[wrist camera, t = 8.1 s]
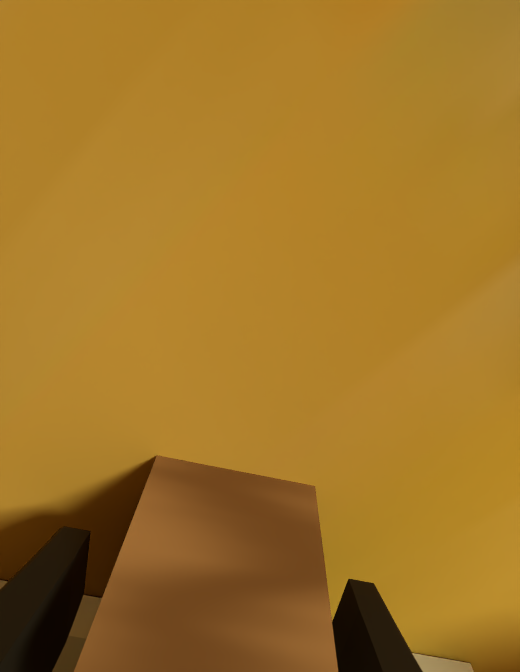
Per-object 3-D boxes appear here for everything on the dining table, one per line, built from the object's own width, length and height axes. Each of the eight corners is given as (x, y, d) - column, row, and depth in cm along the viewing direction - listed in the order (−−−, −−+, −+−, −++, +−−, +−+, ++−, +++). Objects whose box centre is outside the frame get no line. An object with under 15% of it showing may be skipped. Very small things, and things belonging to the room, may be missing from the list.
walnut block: (315, 485, 12) (351, 777, 6) (274, 612, 14) (276, 935, 8) (156, 454, 12) (52, 729, 6) (135, 587, 13) (35, 900, 8)
